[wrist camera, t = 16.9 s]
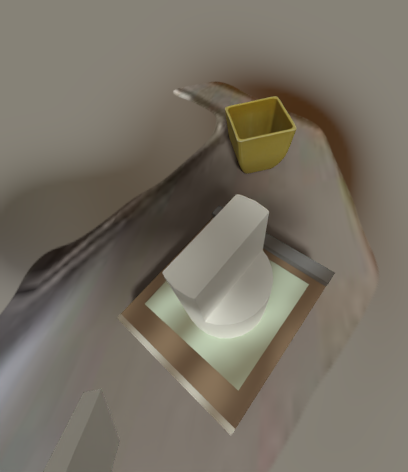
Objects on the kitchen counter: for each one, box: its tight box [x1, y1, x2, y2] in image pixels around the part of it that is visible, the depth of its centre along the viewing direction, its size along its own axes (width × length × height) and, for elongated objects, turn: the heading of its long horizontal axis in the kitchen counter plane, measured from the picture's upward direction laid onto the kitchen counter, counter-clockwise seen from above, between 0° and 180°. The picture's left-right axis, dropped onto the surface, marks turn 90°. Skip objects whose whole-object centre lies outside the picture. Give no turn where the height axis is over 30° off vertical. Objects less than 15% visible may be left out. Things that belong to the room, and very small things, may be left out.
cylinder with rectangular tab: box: [162, 194, 273, 338], centre depth 23 cm, size 9×9×12 cm
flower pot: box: [225, 96, 296, 173], centre depth 42 cm, size 9×9×9 cm
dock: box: [117, 206, 335, 435], centre depth 30 cm, size 16×19×6 cm
